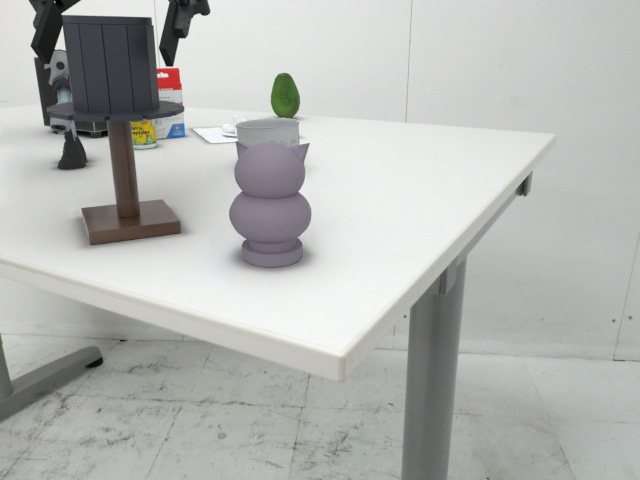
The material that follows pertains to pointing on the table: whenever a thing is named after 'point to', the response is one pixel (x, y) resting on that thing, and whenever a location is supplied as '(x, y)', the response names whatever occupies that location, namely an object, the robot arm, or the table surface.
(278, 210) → the cat figurine
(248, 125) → the teacup
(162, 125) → the ink box
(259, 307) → the table surface
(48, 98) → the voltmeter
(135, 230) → the stand
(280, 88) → the fruit
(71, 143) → the robot
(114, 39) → the hat
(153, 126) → the supplement bottle
